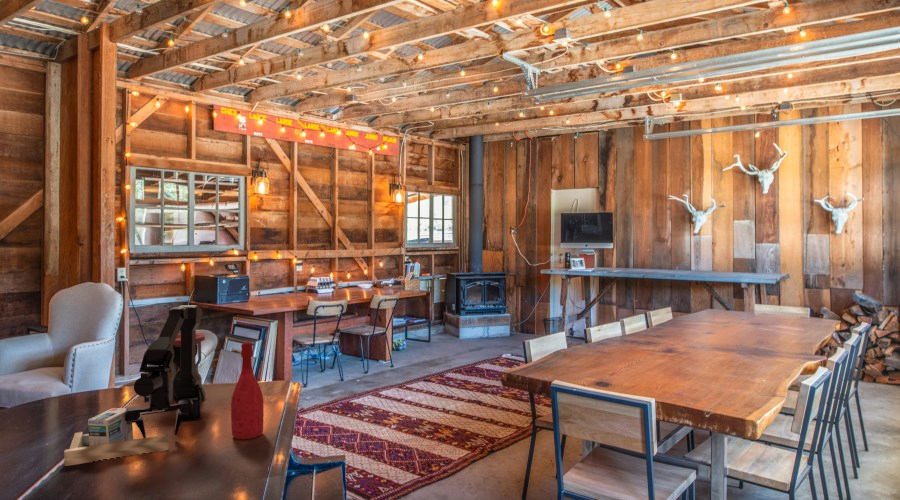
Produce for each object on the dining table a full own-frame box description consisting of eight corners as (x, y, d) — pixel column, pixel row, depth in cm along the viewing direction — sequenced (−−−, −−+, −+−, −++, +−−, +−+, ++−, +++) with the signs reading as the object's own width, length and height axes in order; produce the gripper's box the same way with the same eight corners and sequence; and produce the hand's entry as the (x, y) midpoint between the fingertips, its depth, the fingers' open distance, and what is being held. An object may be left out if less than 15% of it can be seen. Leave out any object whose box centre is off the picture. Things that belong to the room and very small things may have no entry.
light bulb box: (110, 456, 168) (107, 420, 167) (88, 455, 169) (86, 419, 168) (134, 442, 178) (132, 407, 178) (114, 441, 179) (112, 407, 179)
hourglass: (176, 394, 234) (175, 332, 234) (213, 395, 232) (213, 333, 231) (150, 405, 218) (149, 339, 218) (190, 407, 216) (189, 340, 215)
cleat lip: (107, 440, 181) (107, 431, 181) (107, 442, 180) (107, 432, 180) (83, 444, 178) (82, 434, 178) (82, 445, 177) (82, 436, 177)
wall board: (166, 432, 188) (166, 420, 188) (168, 449, 173) (168, 436, 173) (71, 446, 176) (71, 433, 176) (64, 466, 161) (64, 451, 161)
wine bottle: (270, 432, 188) (269, 341, 187) (248, 442, 179) (246, 346, 178) (247, 428, 192) (246, 338, 191) (224, 438, 183) (223, 343, 183)
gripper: (190, 377, 191) (191, 424, 192) (125, 385, 182) (126, 434, 183) (193, 385, 181) (194, 435, 182) (124, 393, 172) (125, 445, 173)
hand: (160, 437), depth 180 cm, fingers open, 8 cm apart
